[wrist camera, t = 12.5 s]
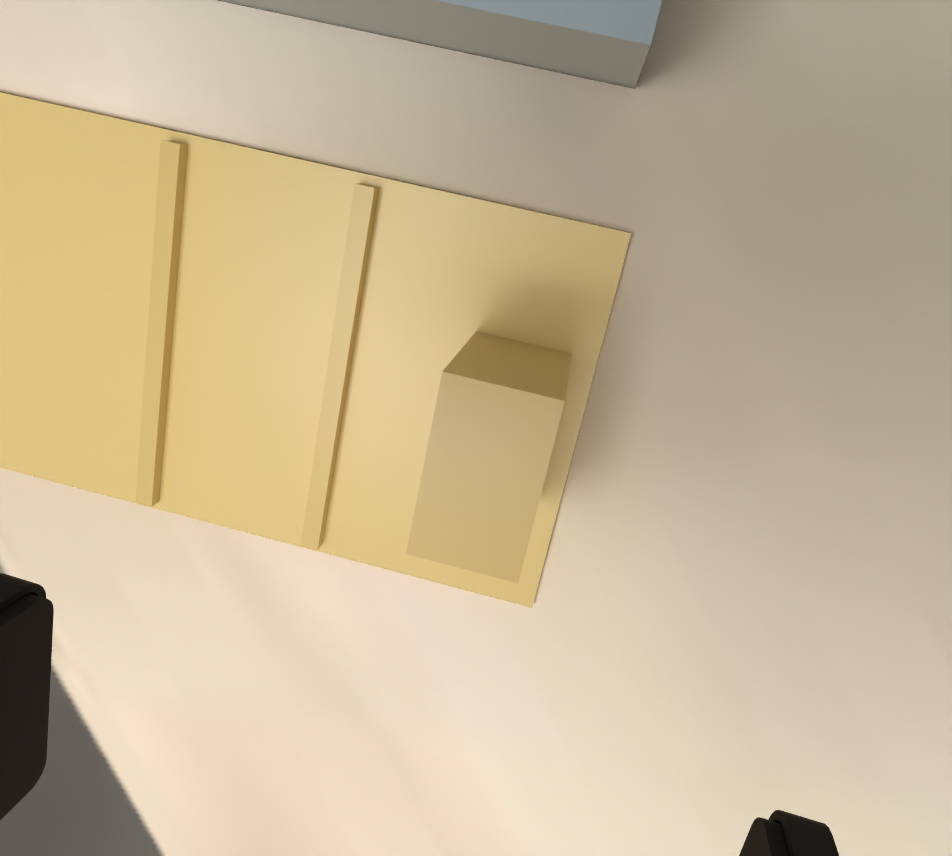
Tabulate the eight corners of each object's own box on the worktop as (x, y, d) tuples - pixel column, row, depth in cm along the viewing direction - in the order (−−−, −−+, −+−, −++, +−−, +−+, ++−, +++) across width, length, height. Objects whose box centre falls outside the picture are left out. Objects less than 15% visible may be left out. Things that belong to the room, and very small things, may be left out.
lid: (630, 231, 23) (641, 247, 17) (533, 596, 27) (516, 711, 21) (-10, 89, 25) (-203, 58, 19) (-11, 453, 29) (-170, 523, 23)
